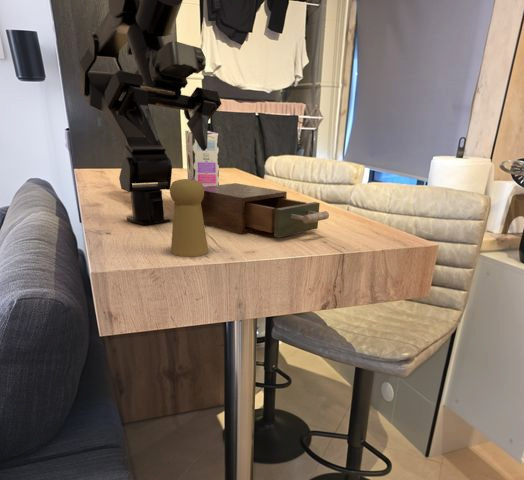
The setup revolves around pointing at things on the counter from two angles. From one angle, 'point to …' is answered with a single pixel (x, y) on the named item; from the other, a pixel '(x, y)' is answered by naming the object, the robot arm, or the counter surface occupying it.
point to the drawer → (283, 216)
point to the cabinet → (232, 205)
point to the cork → (188, 219)
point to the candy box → (203, 159)
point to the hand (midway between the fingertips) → (181, 146)
